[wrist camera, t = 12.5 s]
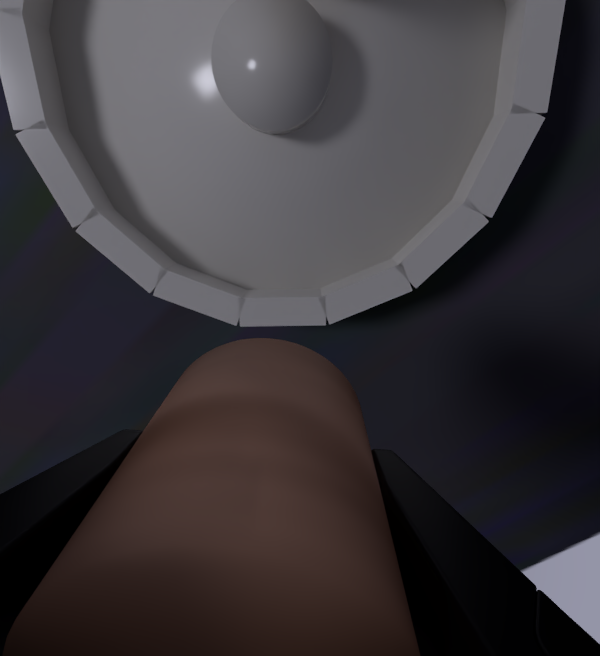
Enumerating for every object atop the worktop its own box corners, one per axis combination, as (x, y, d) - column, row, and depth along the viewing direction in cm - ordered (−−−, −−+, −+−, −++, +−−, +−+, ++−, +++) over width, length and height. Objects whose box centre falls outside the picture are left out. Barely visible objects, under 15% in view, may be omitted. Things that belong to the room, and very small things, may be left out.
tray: (625, -100, 13) (696, -165, 11) (390, 361, 19) (401, 386, 17) (91, -384, 12) (32, -536, 9) (12, 220, 17) (-36, 226, 15)
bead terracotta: (350, 513, 10) (392, 827, 5) (170, 499, 10) (36, 802, 5) (376, 346, 8) (469, 563, 3) (162, 329, 8) (-40, 527, 3)
